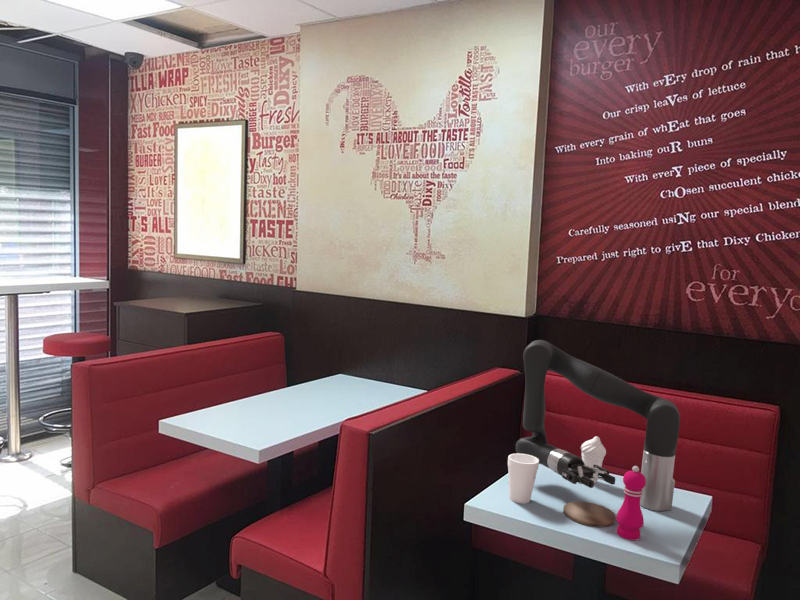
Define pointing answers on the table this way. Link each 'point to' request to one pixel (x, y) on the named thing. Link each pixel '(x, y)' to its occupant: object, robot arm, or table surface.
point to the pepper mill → (631, 506)
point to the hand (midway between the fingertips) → (603, 483)
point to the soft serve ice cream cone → (593, 453)
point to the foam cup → (521, 476)
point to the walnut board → (589, 514)
